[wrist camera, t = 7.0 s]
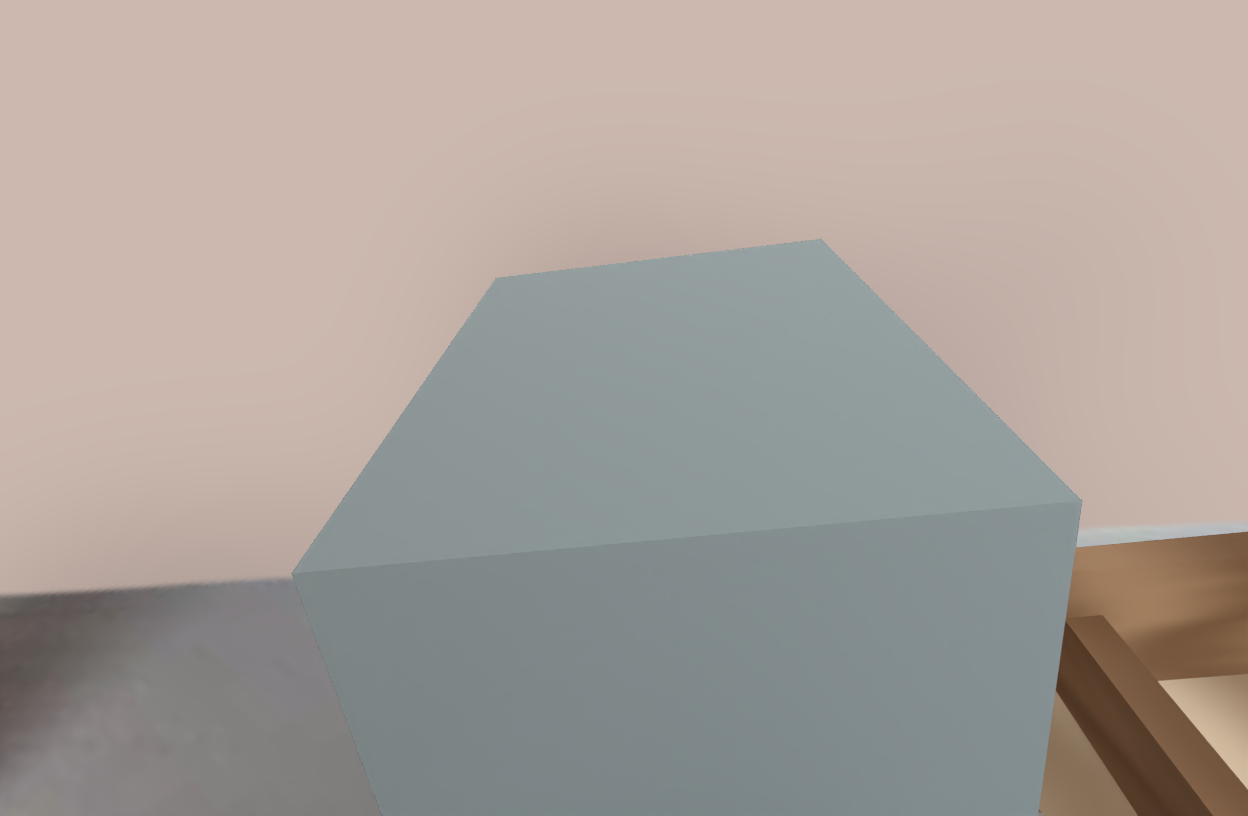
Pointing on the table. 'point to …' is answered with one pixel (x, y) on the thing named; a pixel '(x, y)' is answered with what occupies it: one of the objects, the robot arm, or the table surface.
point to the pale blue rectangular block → (696, 560)
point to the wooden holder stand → (1153, 682)
